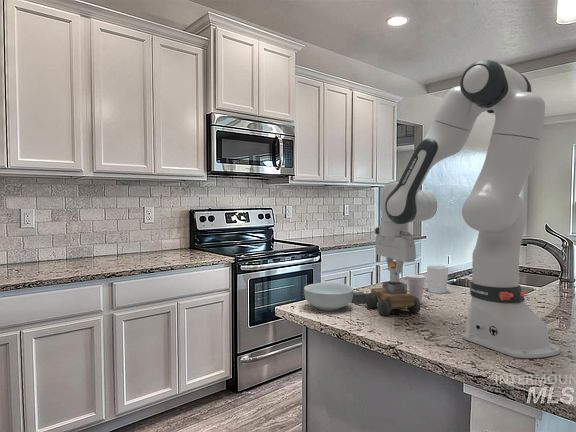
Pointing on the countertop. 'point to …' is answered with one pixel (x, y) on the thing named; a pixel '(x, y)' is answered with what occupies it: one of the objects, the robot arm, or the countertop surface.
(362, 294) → the dark grey cube
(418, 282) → the smoothie
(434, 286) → the white cup
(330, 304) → the cereal bowl
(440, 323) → the countertop surface
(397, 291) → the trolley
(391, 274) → the grey and orange cylinder
